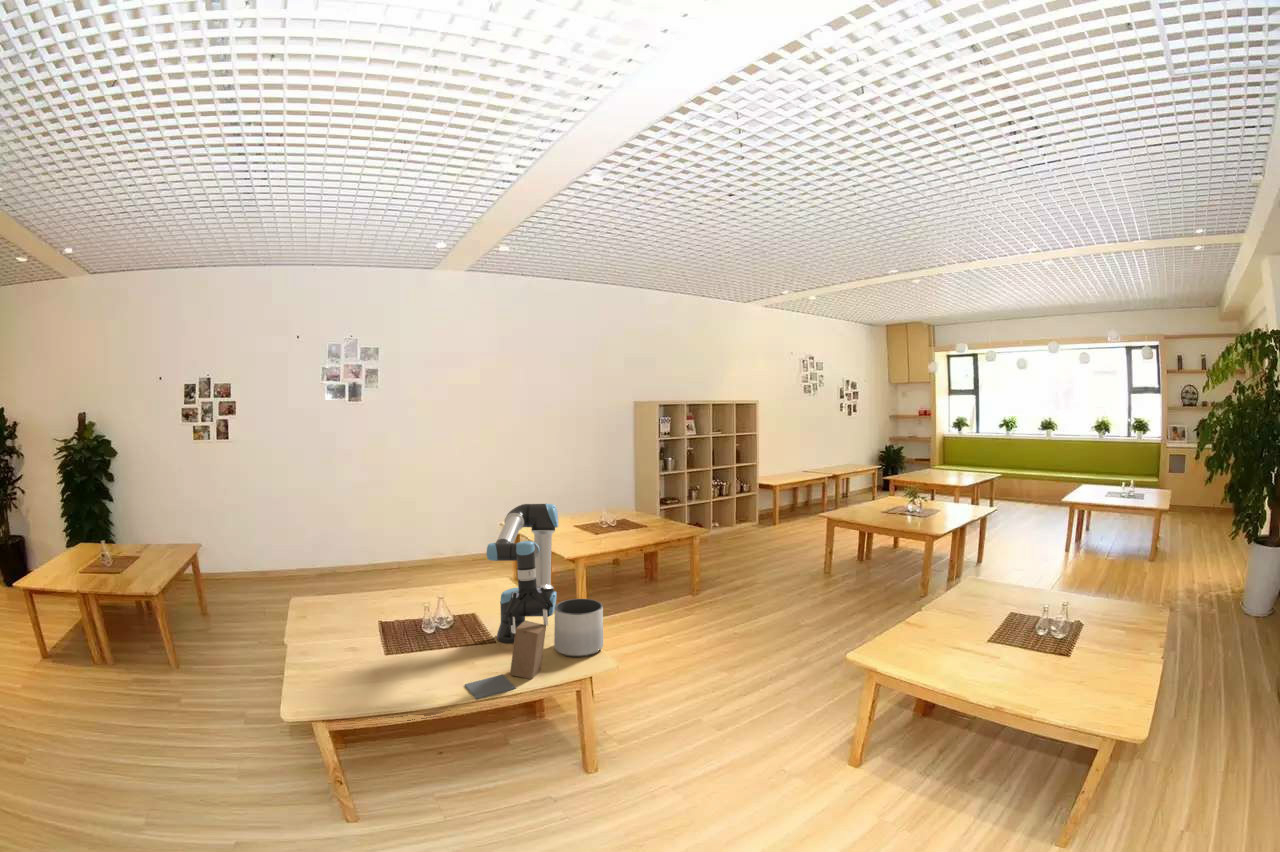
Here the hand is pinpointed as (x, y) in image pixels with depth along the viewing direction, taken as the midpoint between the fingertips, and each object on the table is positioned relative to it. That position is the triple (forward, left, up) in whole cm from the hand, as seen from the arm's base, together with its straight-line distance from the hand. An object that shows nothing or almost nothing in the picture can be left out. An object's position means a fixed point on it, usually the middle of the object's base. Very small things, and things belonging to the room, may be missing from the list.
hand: (529, 630), depth 256 cm
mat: (+2, -18, -19) cm, 26 cm away
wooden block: (-2, -1, -19) cm, 19 cm away
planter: (-12, +30, -19) cm, 38 cm away
